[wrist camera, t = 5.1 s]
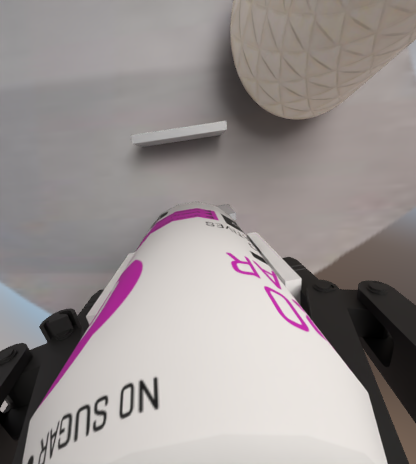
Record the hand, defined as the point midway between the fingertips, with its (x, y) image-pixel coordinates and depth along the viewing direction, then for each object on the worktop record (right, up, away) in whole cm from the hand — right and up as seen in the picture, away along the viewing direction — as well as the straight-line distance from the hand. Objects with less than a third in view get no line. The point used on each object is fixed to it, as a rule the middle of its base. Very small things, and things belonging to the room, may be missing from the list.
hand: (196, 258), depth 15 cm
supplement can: (0, +1, +2) cm, 2 cm away
